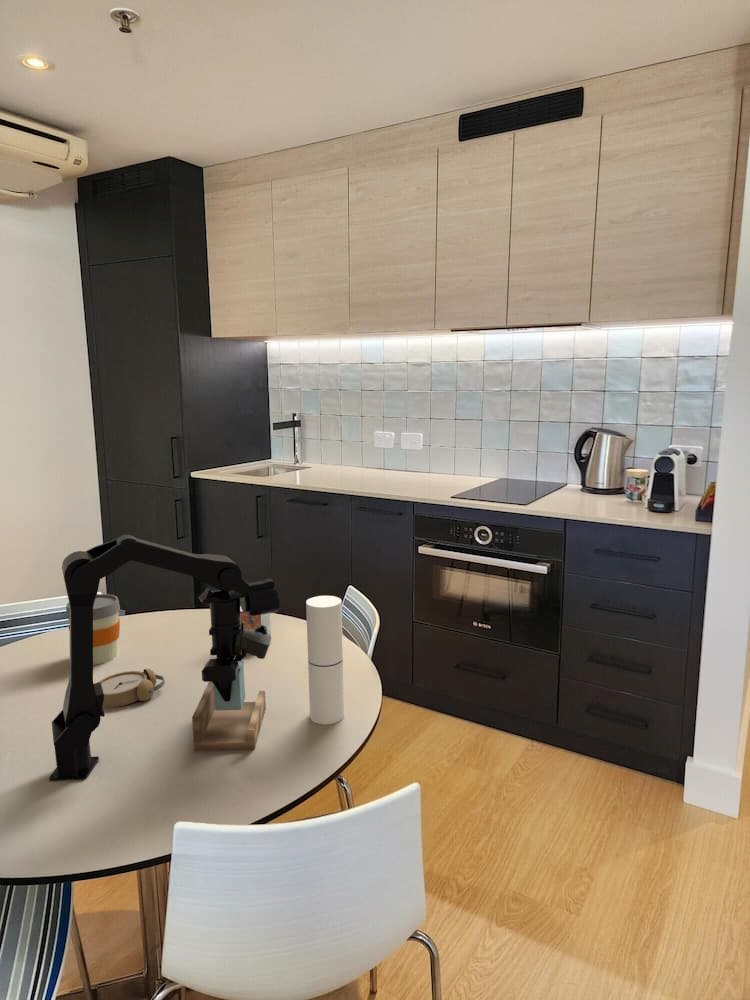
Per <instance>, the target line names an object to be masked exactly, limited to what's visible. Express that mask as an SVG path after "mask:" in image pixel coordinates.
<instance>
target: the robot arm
mask: <svg viewBox="0 0 750 1000" xmlns="http://www.w3.org/2000/svg"><path fill="white" fill-rule="evenodd" d="M130 561H133V562H137V563H140V564H145V565H149V566H153V567H155V568H156V567H157V568H159V569H164V570H167V571H170V572H176V573H178V574H183V575H187V576H189V577H193V578H194V579H196V580H198V581H200V582H202V583H204V584H206V585H208V586H211V587H212V588H215V589H216V590H211V589H210V588H209V587H206V588H205V590H204V591H203V592H202V593H200V595H199V596H198V599H199V601H200V602H201V603H202V604H203V605H209V609H210V610H209V611H210V612H209V613H210V614H209V615H210V628H209V629H208V636H211V645H212V646H211V648H210V651H209V654H210V656H216V658H210V659H208V661H207V662H206V663H205V664H204V666H203V668H202V670H201V679H202V682H204V683H205V682H207V683H209V682H213V684H214V685H215V687H216V688H217V690H218V692H219V693H220V695H221V696H222V698H223V700H224V701H225V702H228V701H230V699H231V692H232V684H233V681H234V680H236V678H237V676H238V674H239V672H240V669H239V663H238V662H237V661H243V660H244V659H245V658H246V656H247V655H250V656H253V657H256V658H257V659H261V660H263V659H265V658H266V655H267V652H268V650H269V646H270V645H271V644H270V641H271V642H272V636H271V637H270V634H268V632H267V626H265V625H261V624H260V625H259V626H258V627H256V628H255V629H254V631H253V629H251V630H248V629H245V624H244V623H243V621H241V614H240V606H241V609H242V611H243V612H244V613H246V612H247V614H248V616H249V617H252V616H258V615H263V614H269V613H270V614H274V613H278V612H279V610H280V604H281V603H280V601H281V600H280V598H279V595H278V591H277V588H276V586H275V581H274V580H273V579H271V578H266V579H263V580H259V581H253V582H247V581H246V579H244V578H243V577H242V570H241V567H240V566H239V565H238V564H237V563H236V562H234V561H233V560H232V559H231V558H229V557H227V555H222V554H212V553H201V554H199V553H192V552H188V551H184V550H181V549H176V548H174V547H170V546H166V545H162V544H158V543H156V542H155V543H154V542H151V541H148V540H146V539H145V540H144V539H141V538H137V537H135V536H133V535H130V534H122V535H120V536H118V537H117V538H115V539H112V540H110V541H107V542H104V543H102V544H98V545H96V546H93V547H91V548H89V549H87V550H85V551H81V550H79V551H73V552H72V553H69V554H68V555H67V556H65V558H64V559H63V560H62V564H61V565H62V566H61V571H62V574H63V580H64V586H65V589H66V594H67V599H68V602H69V605H70V624H69V625H70V631H69V679H68V684H67V686H66V690H65V694H64V700H63V703H62V704H63V706H62V710H61V711H60V712H59V713H58V714H57V715H56V716H55V718H53V720H52V721H51V730H52V741H53V746H54V754H55V763H56V765H55V766H56V767H55V769H54V770H53V771H52V772H51V774H50V775H49V777H48V779H49V781H69V780H70V781H73V780H75V781H76V780H86V779H87V778H88V777H89V776H90V774H91V772H92V771H93V769H94V768H95V766H96V765H97V763H98V762H99V760H100V757H99V756H97V755H96V756H92V754H91V753H92V752H91V742H90V739H91V736H92V733H93V732H94V731H95V730H96V729H97V728H99V726H100V724H101V717H103V718H104V717H105V712H104V707H103V701H104V692H103V689H102V685H101V682H99V681H98V682H95V683H94V665H93V606H94V602H95V599H96V596H97V594H98V593H99V587H100V583H101V582H100V581H101V579H103V578H105V577H107V576H109V575H111V574H112V573H114V572H115V571H117V570H118V569H120V568H121V567H122V566H124V565H125V564H127V563H130ZM269 644H270V645H269Z"/></svg>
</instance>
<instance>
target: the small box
mask: <svg viewBox="0 0 750 1000" xmlns="http://www.w3.org/2000/svg"><path fill="white" fill-rule="evenodd" d="M240 614H241V621H243V623H244V624H245V629H248V630H251V629H253V631H254V629H255V628H256V627H258V626H259V625H260V624H261V625H265V626H267V632H268V634H270V637H271V638H272V630H271V629H272V626H271V624H272V623H271V613H269V614H263V615H258V616H252V617H249V616H248V614H247V612H246V613H244V612H243V611H242V609H241V605H240ZM271 644H272V640H271V641H270V644H269V646H270V645H271Z"/></svg>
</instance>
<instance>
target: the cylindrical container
mask: <svg viewBox="0 0 750 1000" xmlns="http://www.w3.org/2000/svg"><path fill="white" fill-rule="evenodd" d="M305 604H306V605H305V606H306V607H305V608H306V610H305V611H306V633H307V634H306V636H307V638H306V639H307V641H306V642H307V665H308V694H309V697H308V699H309V718H310V720H311V721H312V722H313V723H316V724H318V725H332V724H336V723H339V722H341V720H343V719H344V718H345V696H344V695H345V692H344V689H345V688H344V655H343V653H344V647H343V645H344V644H343V609H342V608H343V607H342V604H343V603H342V599H341V598H340V597H337V596H335V595H318V596H314V597H309V598H308V599H307V600H306V601H305Z"/></svg>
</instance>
